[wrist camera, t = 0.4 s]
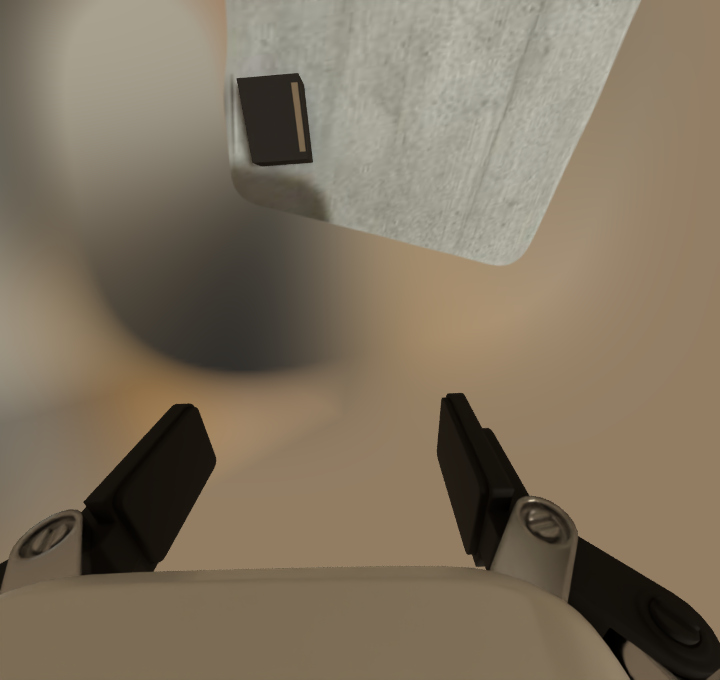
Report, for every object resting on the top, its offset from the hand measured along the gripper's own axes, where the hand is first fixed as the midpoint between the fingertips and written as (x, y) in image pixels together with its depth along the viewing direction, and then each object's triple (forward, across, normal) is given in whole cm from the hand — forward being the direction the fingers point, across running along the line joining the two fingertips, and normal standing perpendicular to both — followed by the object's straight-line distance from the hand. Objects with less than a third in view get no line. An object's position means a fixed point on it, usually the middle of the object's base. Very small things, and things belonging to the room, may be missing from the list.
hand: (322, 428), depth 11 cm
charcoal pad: (+30, +6, -16) cm, 35 cm away
